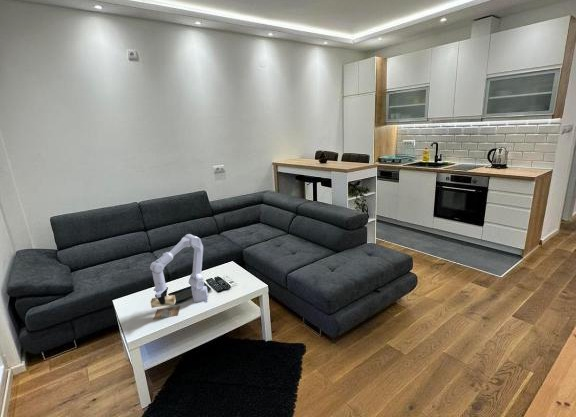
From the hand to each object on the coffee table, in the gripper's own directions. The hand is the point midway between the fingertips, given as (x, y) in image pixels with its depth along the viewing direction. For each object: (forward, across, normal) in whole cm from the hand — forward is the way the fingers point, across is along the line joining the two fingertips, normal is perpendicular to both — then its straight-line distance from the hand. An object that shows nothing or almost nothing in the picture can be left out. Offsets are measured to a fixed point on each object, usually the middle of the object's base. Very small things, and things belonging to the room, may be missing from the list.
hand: (163, 302), depth 181 cm
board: (+9, -2, 0) cm, 9 cm away
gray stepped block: (+9, +1, 0) cm, 9 cm away
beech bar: (+1, 0, 0) cm, 1 cm away
